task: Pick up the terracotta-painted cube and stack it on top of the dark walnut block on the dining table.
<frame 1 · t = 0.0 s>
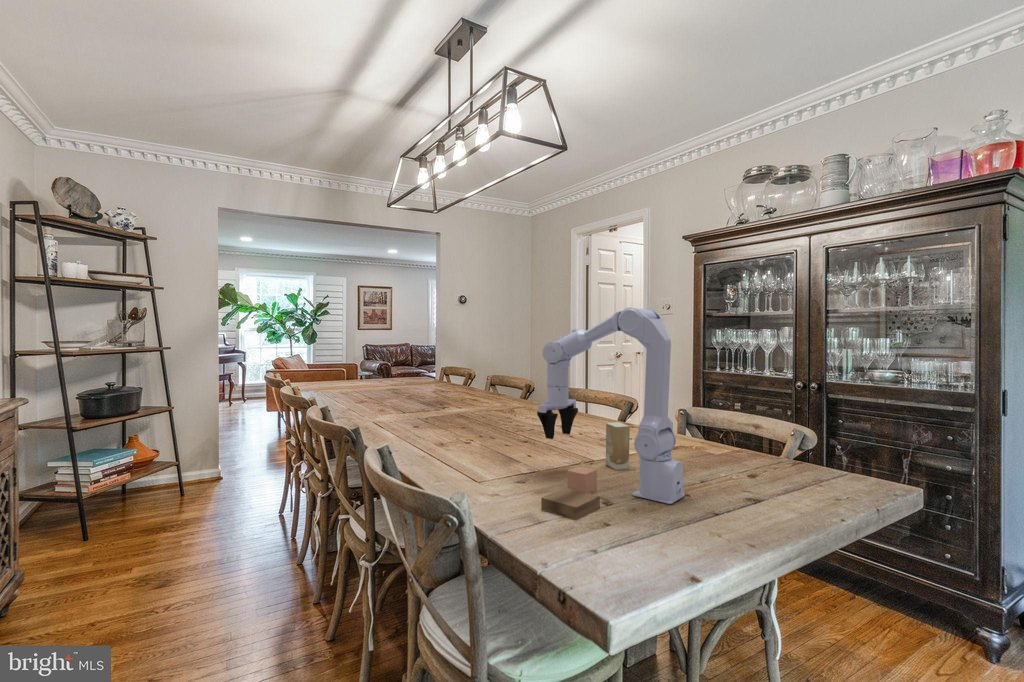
hand: (558, 436, 133), 10 cm above the table, fingers open, 7 cm apart
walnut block: (570, 510, 106), on the table
skincare box: (617, 467, 139), on the table
terracotta cube: (582, 490, 119), on the table
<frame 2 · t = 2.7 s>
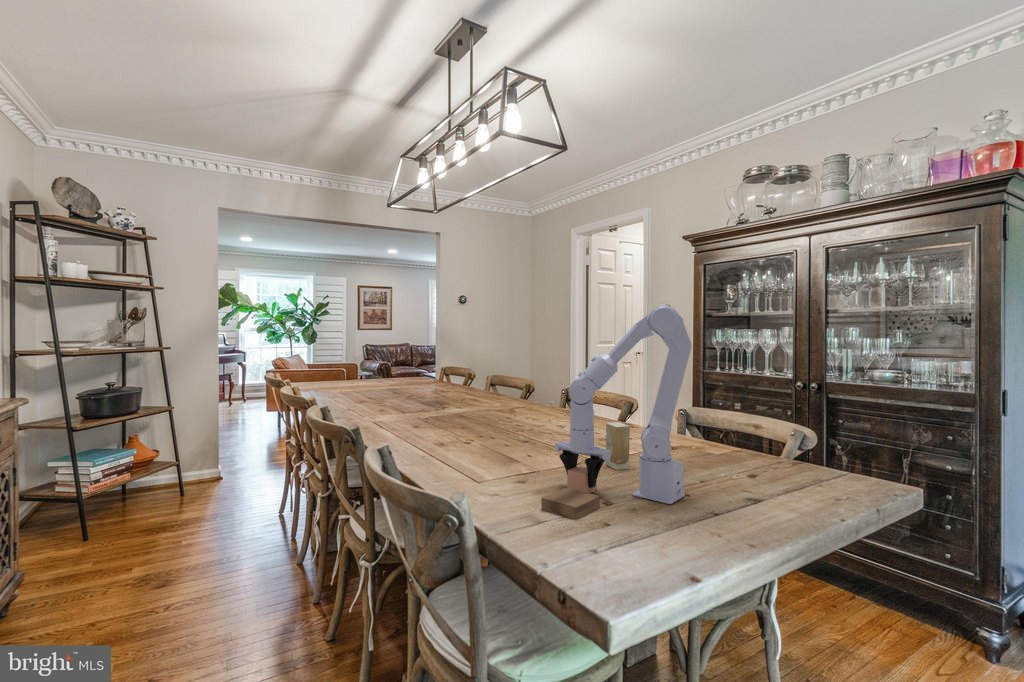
hand: (582, 484, 119), 1 cm above the table, fingers closed on terracotta cube, 5 cm apart
terracotta cube: (582, 490, 119), on the table, touching gripper
everything else where it was.
when the fingers open (6 cm above the table, at t = 6.8 s): terracotta cube drops 2 cm, resting on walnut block.
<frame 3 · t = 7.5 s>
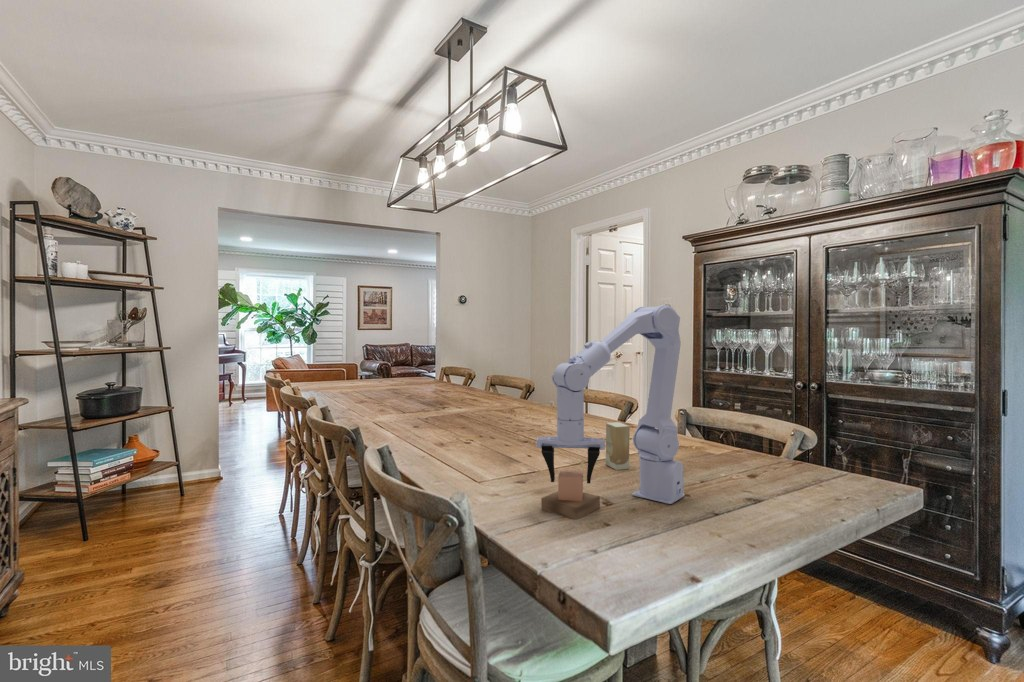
hand: (570, 481, 106), 6 cm above the table, fingers open, 7 cm apart
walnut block: (570, 510, 106), on the table, touching terracotta cube
terracotta cube: (570, 496, 106), point 3 cm above the table, touching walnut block
everything else where it was.
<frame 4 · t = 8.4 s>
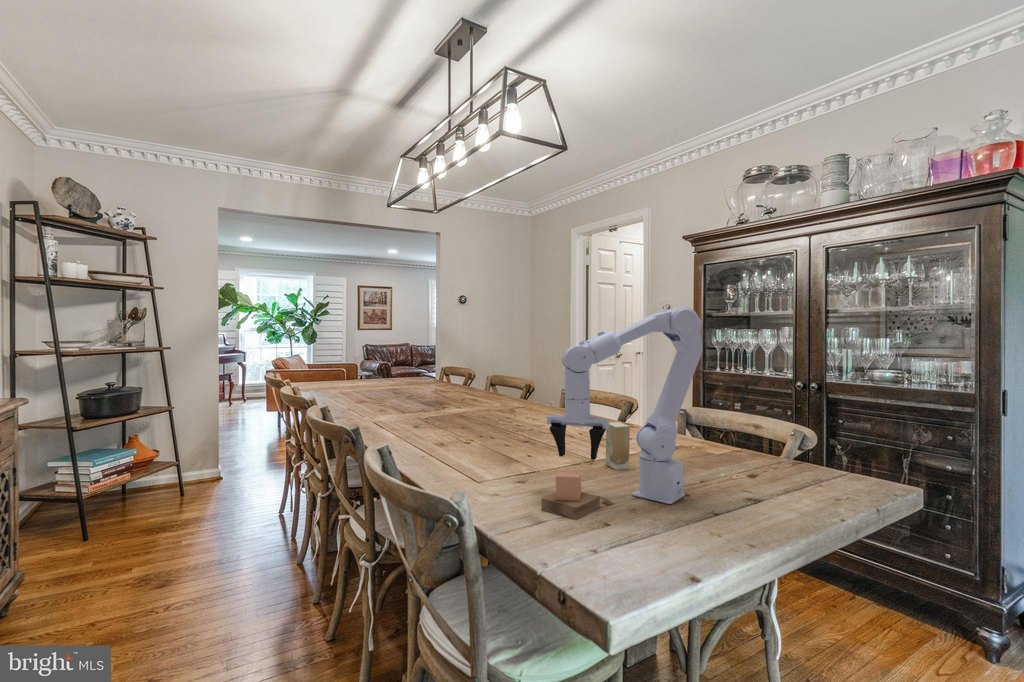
hand: (577, 457, 113), 9 cm above the table, fingers open, 7 cm apart
nothing on the table moved.
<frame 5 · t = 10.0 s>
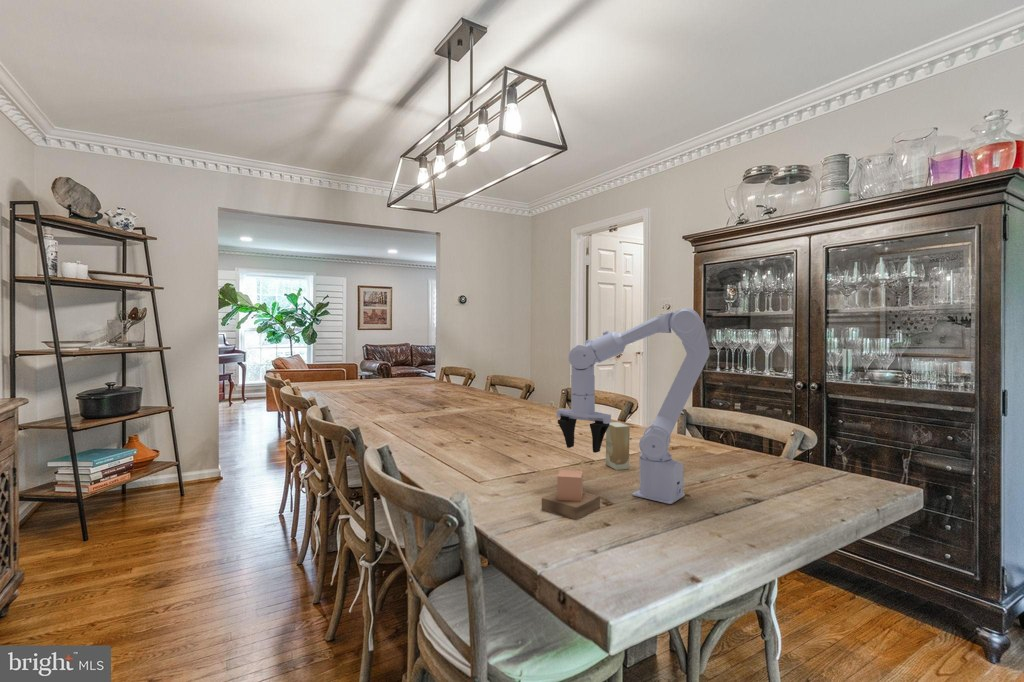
hand: (583, 449, 121), 9 cm above the table, fingers open, 7 cm apart
nothing on the table moved.
at the end: terracotta cube 0.4 cm off-centre on the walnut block, point 3.0 cm above the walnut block's base; terracotta cube tilted 0°; the gripper is holding nothing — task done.
